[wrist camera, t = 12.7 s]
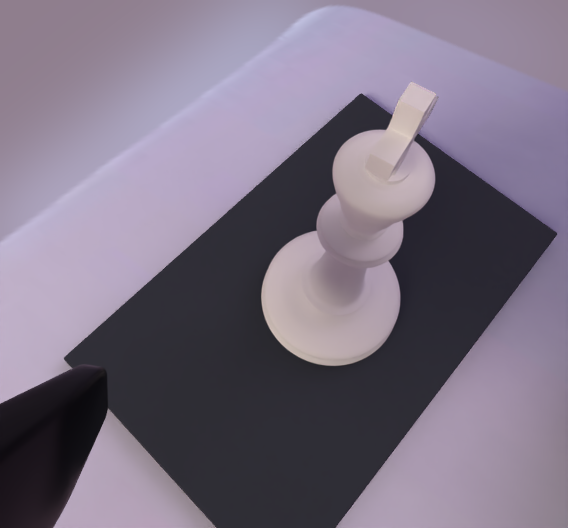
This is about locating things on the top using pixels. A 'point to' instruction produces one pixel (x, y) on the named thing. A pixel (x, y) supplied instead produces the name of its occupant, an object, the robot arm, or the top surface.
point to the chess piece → (353, 245)
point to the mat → (290, 368)
